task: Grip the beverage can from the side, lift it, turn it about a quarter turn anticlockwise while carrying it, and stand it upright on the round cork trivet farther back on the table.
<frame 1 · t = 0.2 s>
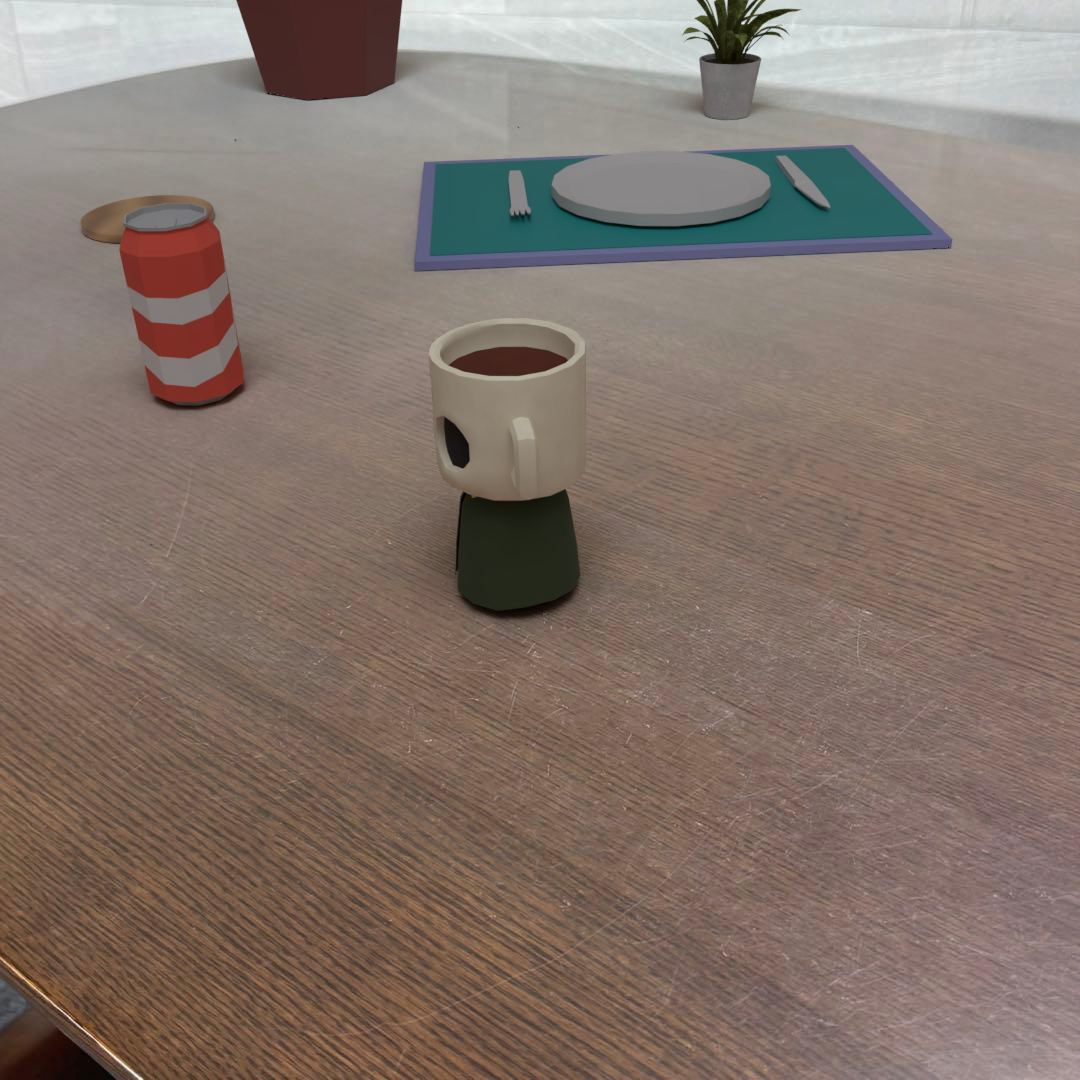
place mat: (659, 206, 113), on the table
beverage can: (200, 393, 81), on the table
house plant: (720, 118, 141), on the table
bucket: (330, 87, 160), on the table
character mug: (518, 588, 61), on the table
cork trivet: (149, 222, 112), on the table
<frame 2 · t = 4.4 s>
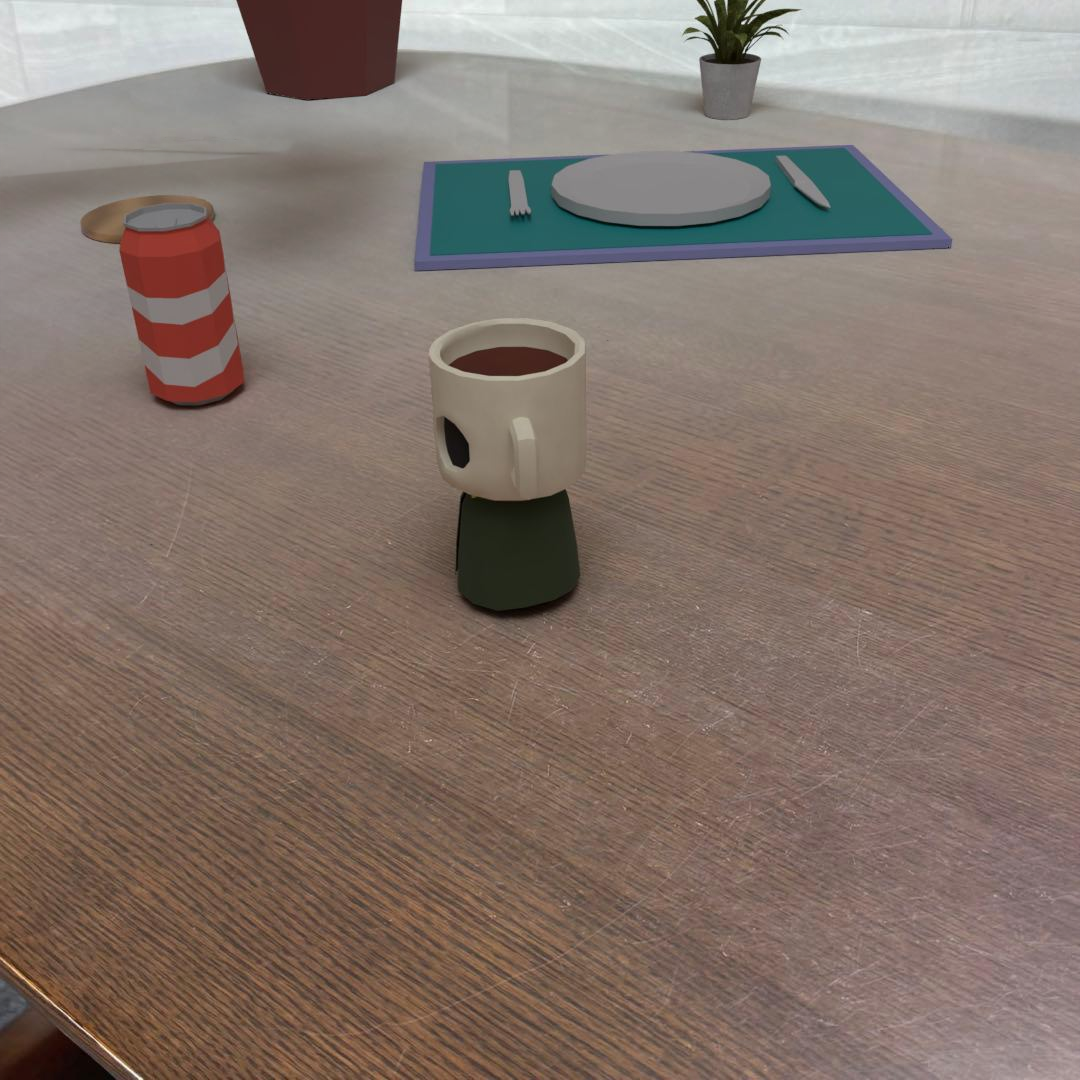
nothing on the table moved.
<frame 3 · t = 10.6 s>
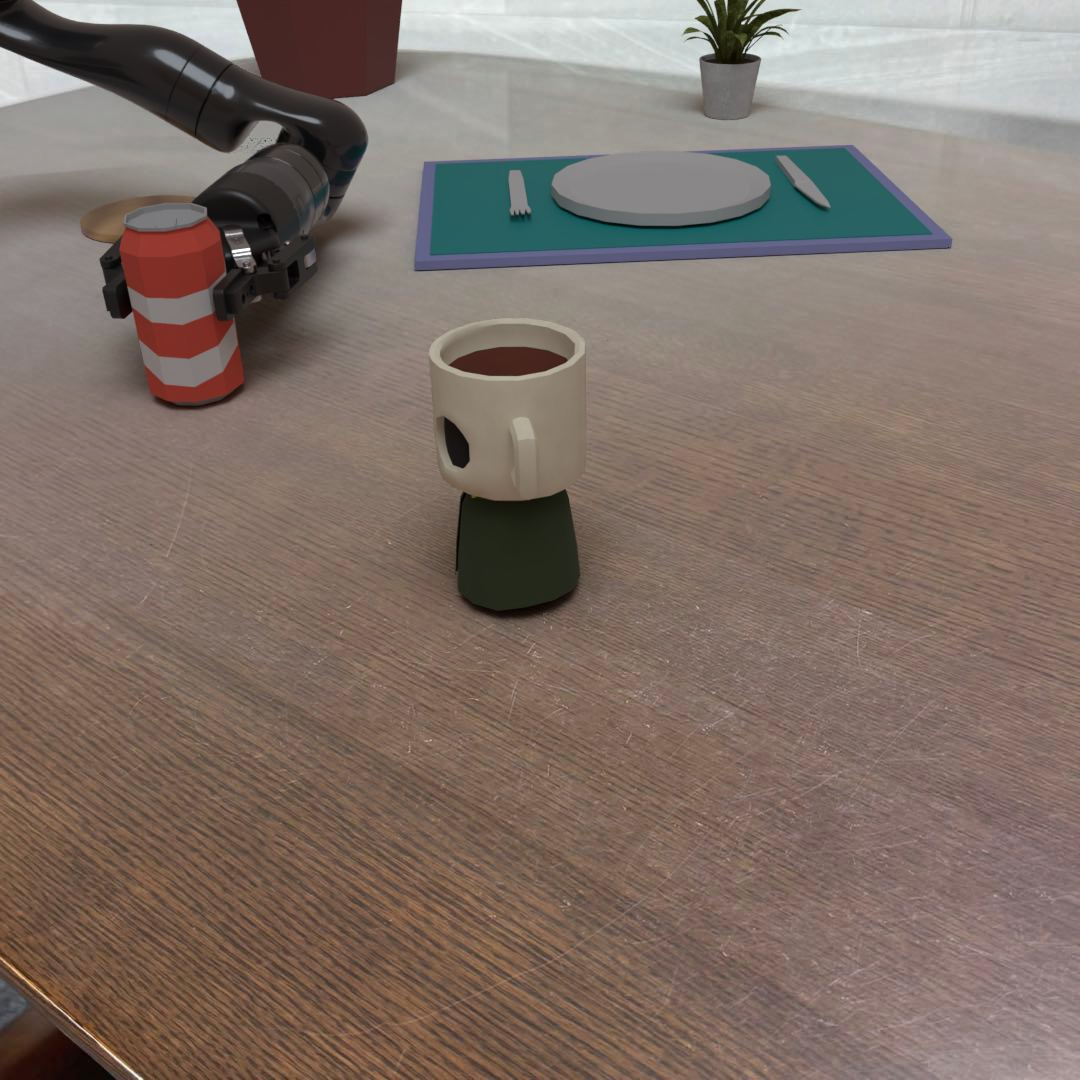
hand: (166, 305, 75), 7 cm above the table, tool horizontal, fingers closed on beverage can, 6 cm apart
beverage can: (200, 393, 81), on the table, touching gripper
everything else where it was.
when the fingers open (8 cm above the table, at t = 23.0 s): beverage can stays where it is, resting on cork trivet.
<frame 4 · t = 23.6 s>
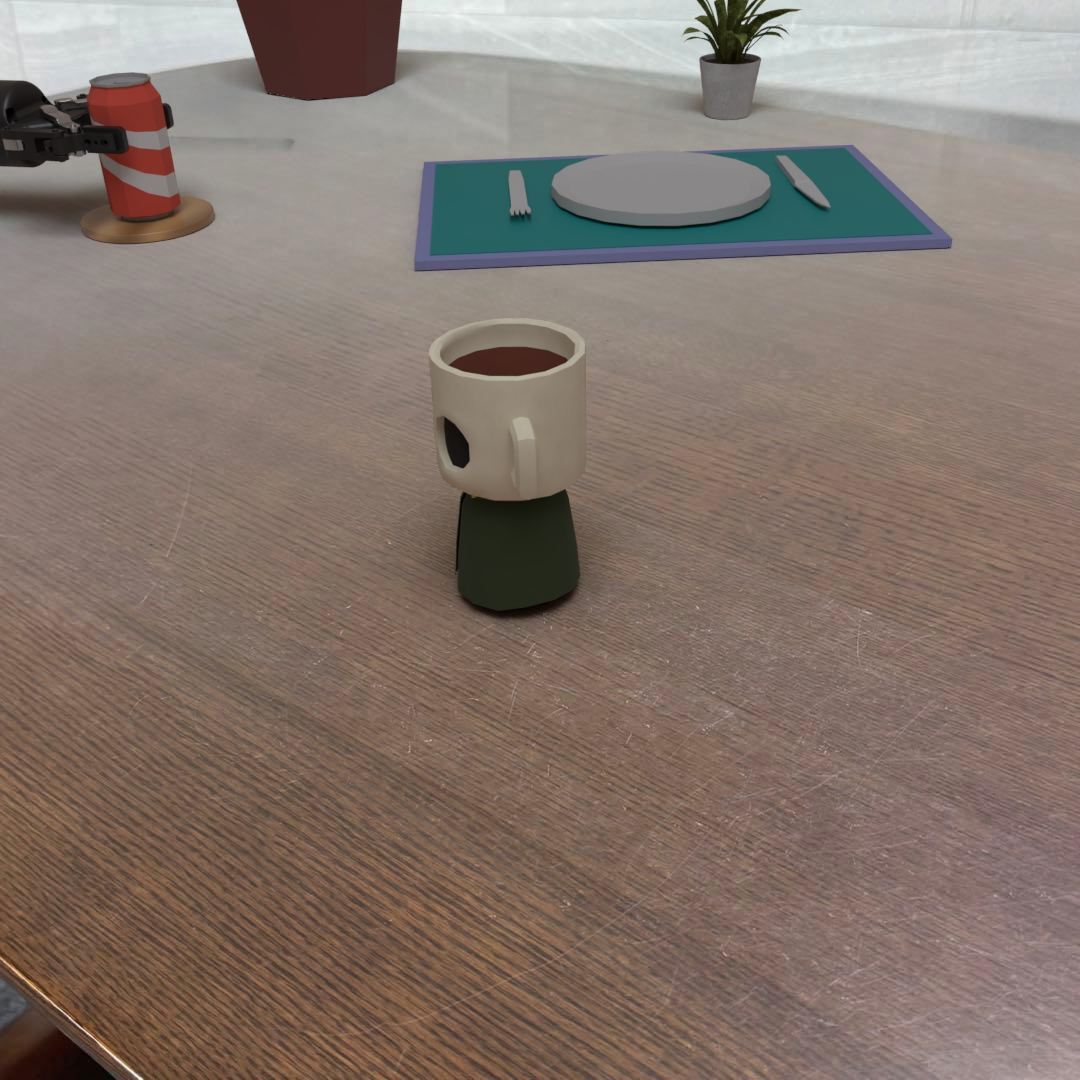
hand: (148, 128, 107), 9 cm above the table, tool horizontal, fingers open, 8 cm apart
beverage can: (147, 215, 112), point 1 cm above the table, touching cork trivet
everything else where it was.
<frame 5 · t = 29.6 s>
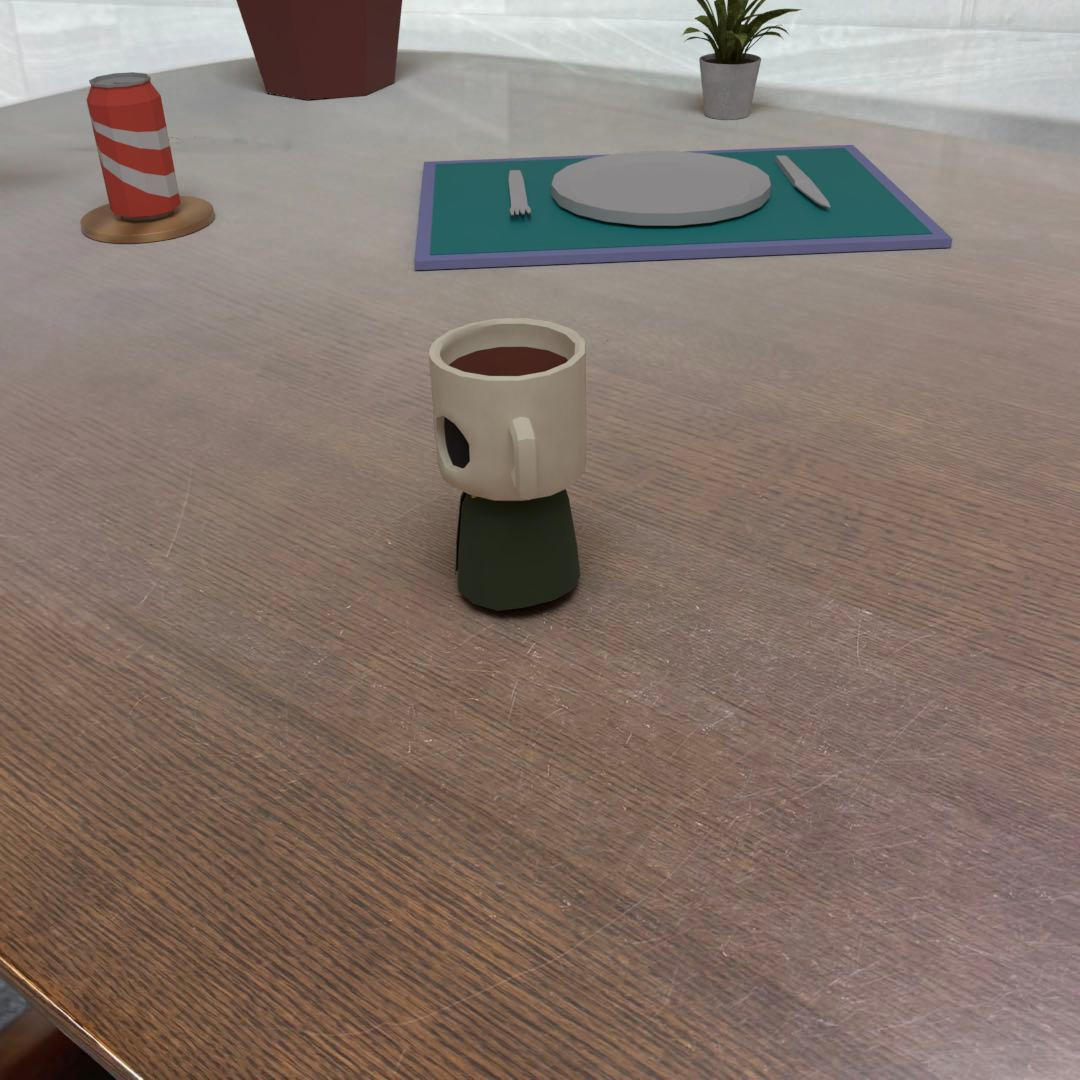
nothing on the table moved.
at the end: beverage can inside the target area on the cork trivet (0.1 cm from its centre), point 0.6 cm above the cork trivet's base; beverage can tilted 0°; the gripper is holding nothing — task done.
